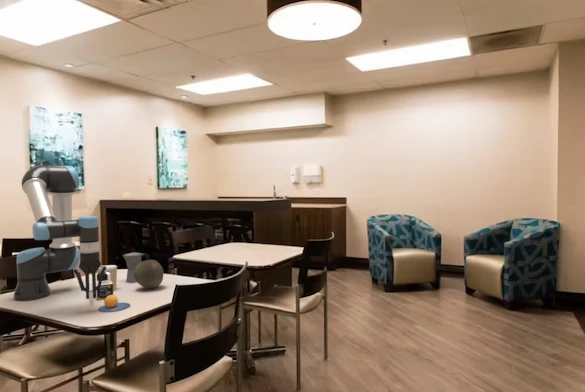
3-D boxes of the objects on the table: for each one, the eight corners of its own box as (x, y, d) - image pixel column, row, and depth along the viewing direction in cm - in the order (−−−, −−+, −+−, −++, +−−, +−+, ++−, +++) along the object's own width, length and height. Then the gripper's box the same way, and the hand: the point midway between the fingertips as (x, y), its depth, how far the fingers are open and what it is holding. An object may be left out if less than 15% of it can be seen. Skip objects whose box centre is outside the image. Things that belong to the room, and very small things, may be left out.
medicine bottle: (97, 300, 187) (96, 275, 186) (95, 296, 193) (94, 272, 193) (113, 297, 191) (112, 273, 190) (111, 294, 197) (110, 270, 196)
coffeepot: (119, 283, 220) (118, 250, 219) (126, 279, 229) (125, 248, 229) (146, 282, 219) (145, 250, 219) (153, 278, 229) (152, 247, 228)
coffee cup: (121, 287, 210) (120, 264, 210) (111, 292, 201) (110, 268, 201) (104, 287, 211) (103, 264, 211) (94, 292, 202) (93, 268, 201)
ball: (119, 295, 175) (117, 308, 174) (117, 294, 179) (116, 307, 178) (105, 295, 172) (104, 308, 171) (104, 294, 177) (102, 307, 176)
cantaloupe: (149, 284, 216) (149, 256, 215) (169, 286, 210) (168, 258, 209) (128, 290, 203) (128, 261, 203) (149, 293, 197) (148, 263, 196)
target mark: (97, 313, 167) (97, 313, 167) (99, 305, 179) (99, 304, 179) (130, 309, 172) (130, 309, 172) (130, 301, 184) (130, 301, 184)
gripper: (71, 254, 165) (73, 310, 166) (105, 251, 170) (107, 306, 171) (73, 251, 172) (75, 305, 173) (106, 249, 177) (108, 301, 178)
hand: (91, 305), depth 172 cm, fingers closed
